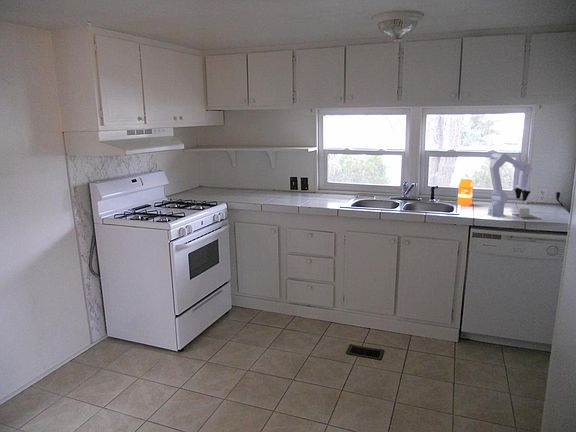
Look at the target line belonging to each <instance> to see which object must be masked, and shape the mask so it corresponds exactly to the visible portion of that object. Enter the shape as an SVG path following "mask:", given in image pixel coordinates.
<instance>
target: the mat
mask: <svg viewBox="0 0 576 432" xmlns="http://www.w3.org/2000/svg"><path fill="white" fill-rule="evenodd" d="M511 215H512V216H515V217H517V218H520V219H523V220H526V221H527V220H528V221H529V220H532V221H534V220H542V218H540V217H538V216H535V215H532V214H530V213H529V217H519V213H511Z"/></svg>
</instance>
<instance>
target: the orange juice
mask: <svg viewBox="0 0 576 432" xmlns="http://www.w3.org/2000/svg"><path fill="white" fill-rule="evenodd" d="M473 193H474V185H473V179H467V178H466V179H465V178H461V179H460V182H459V185H458V193H457V205H460V206H468V207H470V206H471V205H472V203H473Z"/></svg>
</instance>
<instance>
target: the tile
mask: <svg viewBox="0 0 576 432" xmlns="http://www.w3.org/2000/svg"><path fill="white" fill-rule="evenodd" d="M518 214H519V217H518V218H520V217H529V214H530V208H529V207H523V208H522V207H521V208H519V213H518Z"/></svg>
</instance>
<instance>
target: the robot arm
mask: <svg viewBox="0 0 576 432" xmlns="http://www.w3.org/2000/svg"><path fill="white" fill-rule="evenodd" d="M506 162H507V163H508V164H511V165H512V167H514V168H515V169H517V170H518V171H519V174H518V175H519V177H518V183H517V184H515V188H514V190H513V191H514V193H515V198H516V199H518V200H519V199H521V195H522V201H523V202H524V201H527V199H528V197H529V195H530V194H531V188H530V187H529V186H528V185H529V177H530V173H531V172H532V169H533V168H532V166H531V164H529V163H526V162H525V161H523V160H522V159H520V158H518V159H517V158H516V159H515V158H513V157H511V156H510V155H509V154H506V153H499V152H498V153H497V152H493V153H491V155H490V156H489V173H490V178H491V184H492V188H493V191H492V192H491V196H490V200H491V201H492V202H491V203H489V205H488V208H487V209H488V210H487V216H490V217H492V218H494V217H498V218H499V217H506V215H505V214H504V211H505V204H506V203H507V202H508V199H509V197H508V195H507V193H506V192H505V191H504V189H503V186H502V179H501V174H500V168H501V167H502V166H503V165H504V164H505V163H506Z"/></svg>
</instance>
